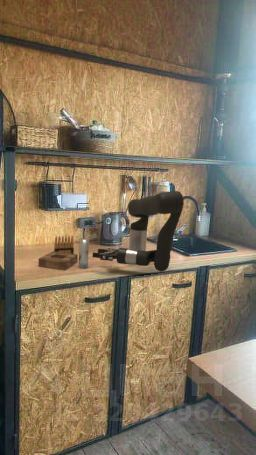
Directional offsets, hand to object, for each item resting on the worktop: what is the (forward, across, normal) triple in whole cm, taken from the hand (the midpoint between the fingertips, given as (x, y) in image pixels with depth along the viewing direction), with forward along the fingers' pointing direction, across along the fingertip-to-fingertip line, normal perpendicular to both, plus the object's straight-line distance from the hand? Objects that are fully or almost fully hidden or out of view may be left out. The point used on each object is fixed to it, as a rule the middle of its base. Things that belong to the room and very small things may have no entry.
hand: (95, 252), depth 180 cm
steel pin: (+6, 0, +8) cm, 10 cm away
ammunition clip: (+22, -14, +8) cm, 27 cm away
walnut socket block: (+19, 0, +8) cm, 21 cm away
